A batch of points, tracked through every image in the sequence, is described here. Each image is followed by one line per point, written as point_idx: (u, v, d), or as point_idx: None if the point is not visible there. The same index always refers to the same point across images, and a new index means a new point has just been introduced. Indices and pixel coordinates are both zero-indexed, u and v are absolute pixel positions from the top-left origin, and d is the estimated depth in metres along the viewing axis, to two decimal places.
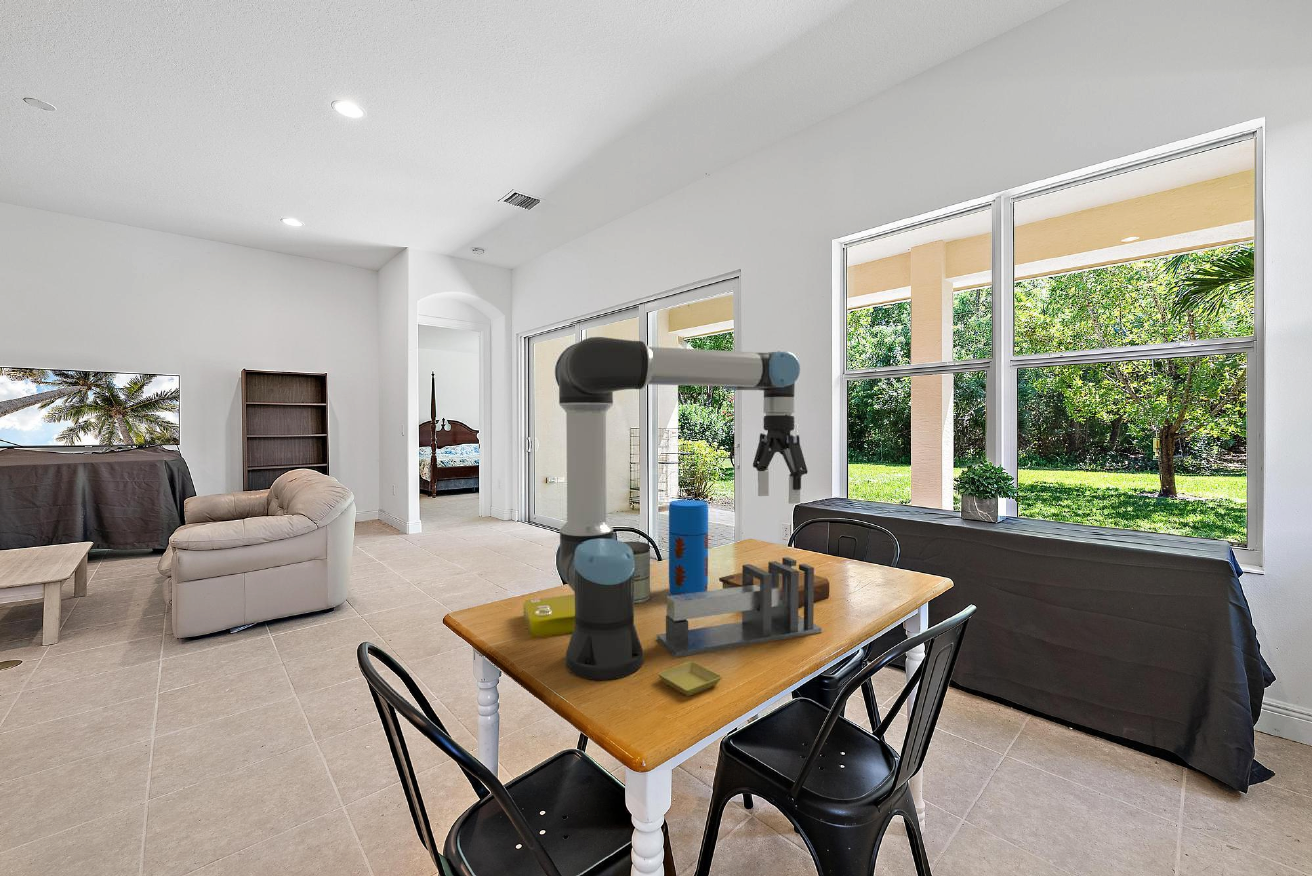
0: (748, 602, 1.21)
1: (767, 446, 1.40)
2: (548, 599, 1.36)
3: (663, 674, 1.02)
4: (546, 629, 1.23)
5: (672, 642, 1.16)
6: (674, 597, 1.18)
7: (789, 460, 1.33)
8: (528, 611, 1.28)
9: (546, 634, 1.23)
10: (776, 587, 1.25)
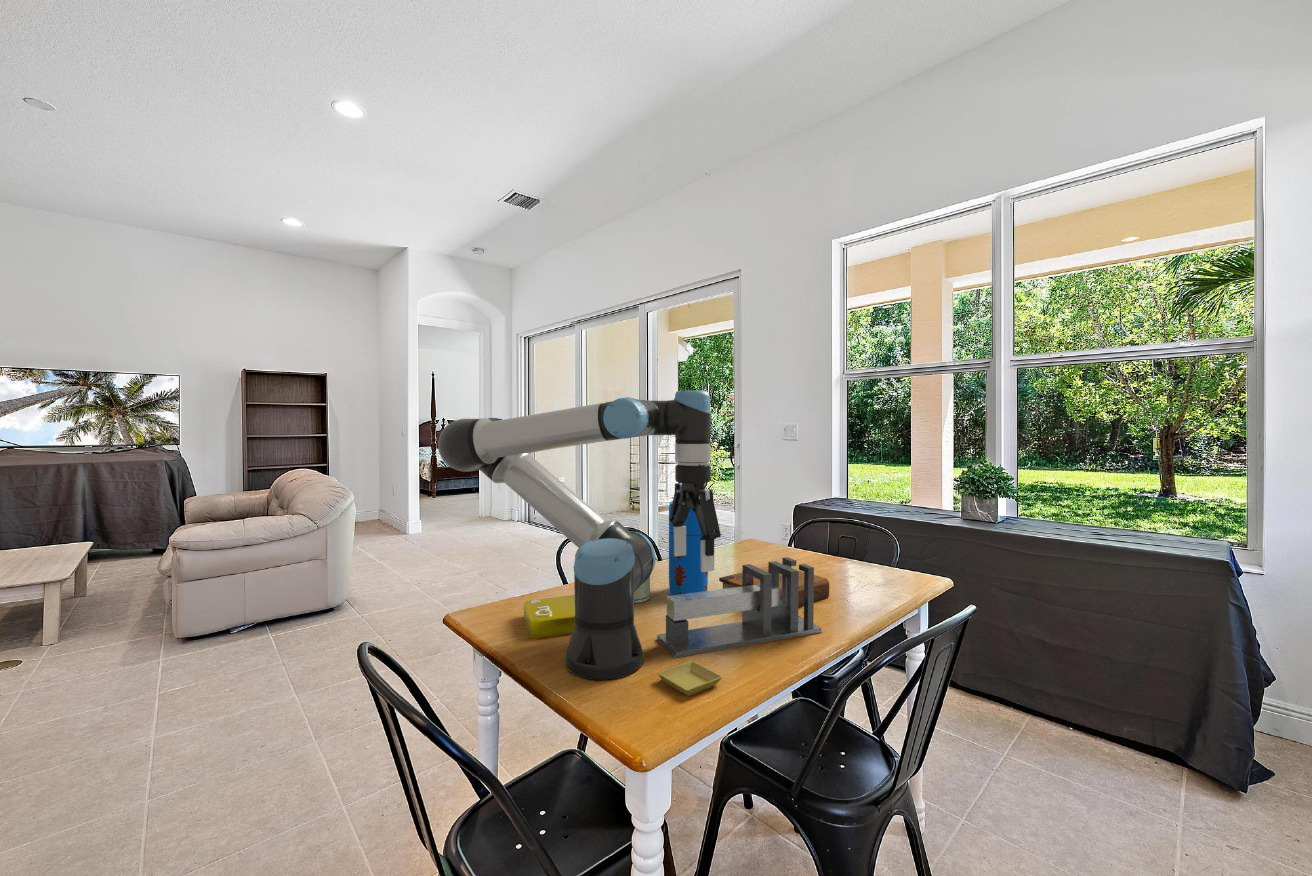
0: (748, 602, 1.21)
1: (681, 500, 1.19)
2: (548, 600, 1.35)
3: (663, 674, 1.02)
4: (546, 630, 1.22)
5: (672, 642, 1.16)
6: (674, 597, 1.18)
7: (701, 520, 1.12)
8: (528, 612, 1.27)
9: (546, 635, 1.22)
10: (776, 587, 1.25)
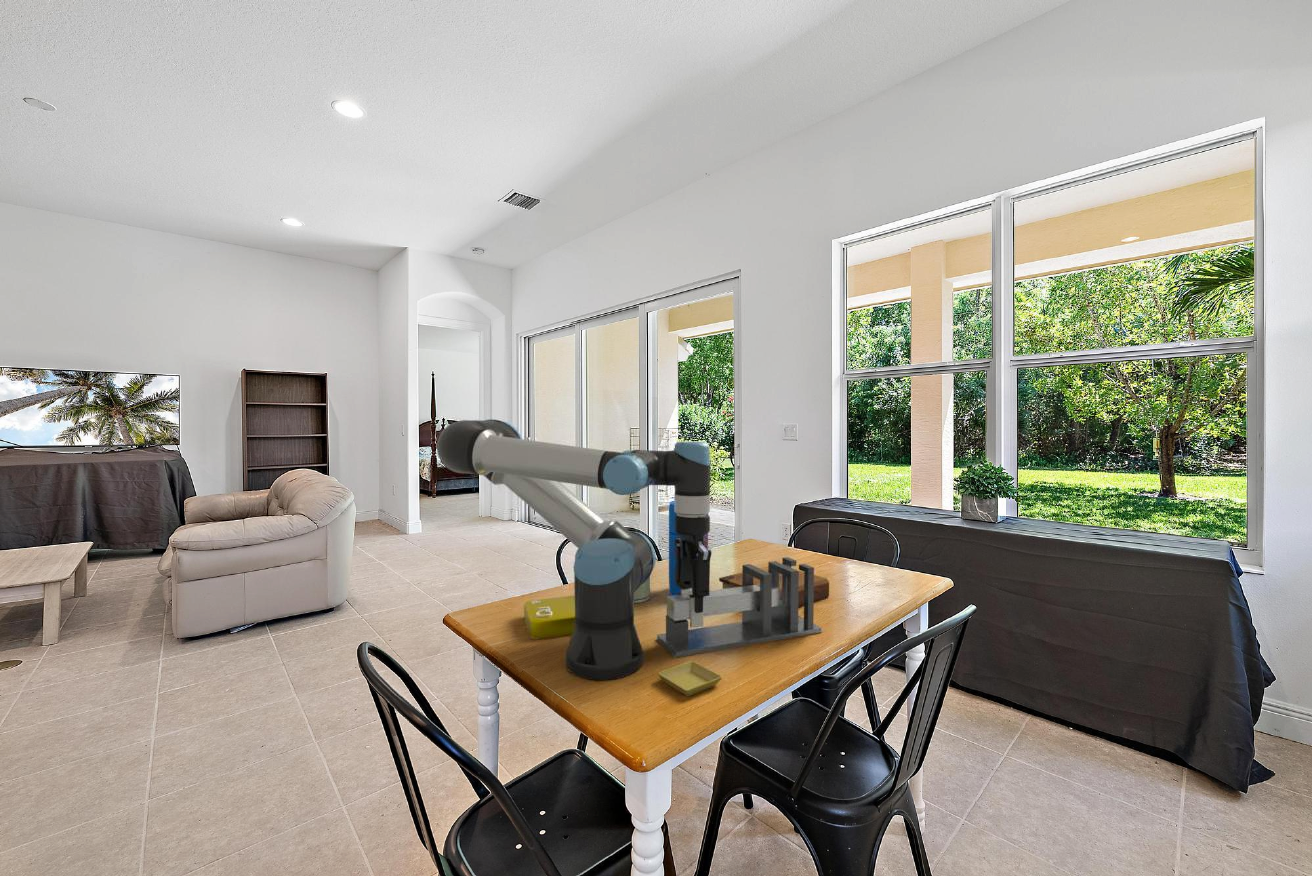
0: (748, 602, 1.21)
1: (682, 552, 1.19)
2: (549, 600, 1.35)
3: (663, 674, 1.02)
4: (547, 630, 1.22)
5: (672, 642, 1.16)
6: (674, 597, 1.18)
7: (694, 577, 1.15)
8: (529, 612, 1.27)
9: (547, 635, 1.22)
10: (776, 587, 1.25)
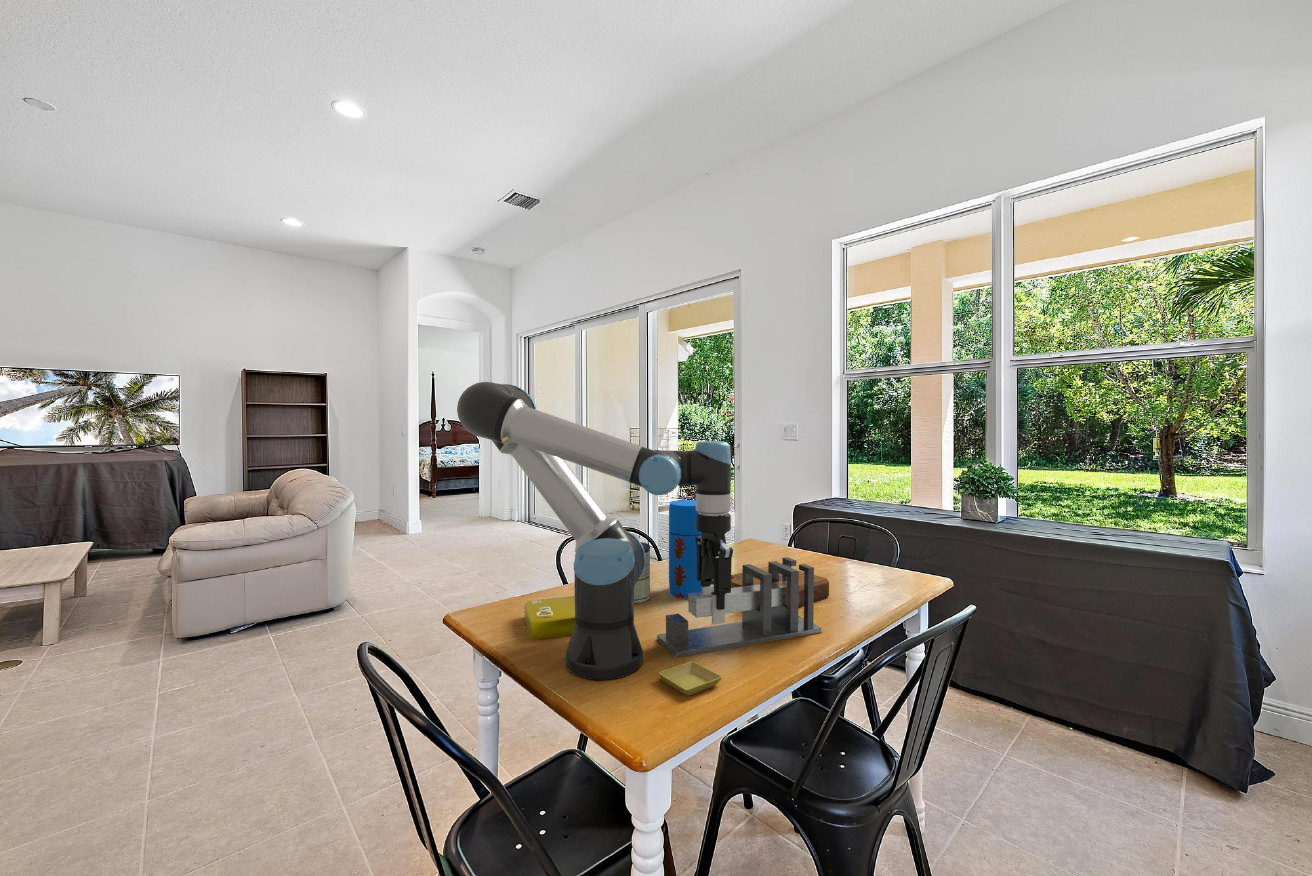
0: None
1: (703, 550, 1.21)
2: (549, 600, 1.35)
3: (663, 674, 1.02)
4: (547, 630, 1.22)
5: (672, 642, 1.16)
6: (696, 594, 1.19)
7: (716, 574, 1.17)
8: (529, 612, 1.27)
9: (547, 636, 1.22)
10: None
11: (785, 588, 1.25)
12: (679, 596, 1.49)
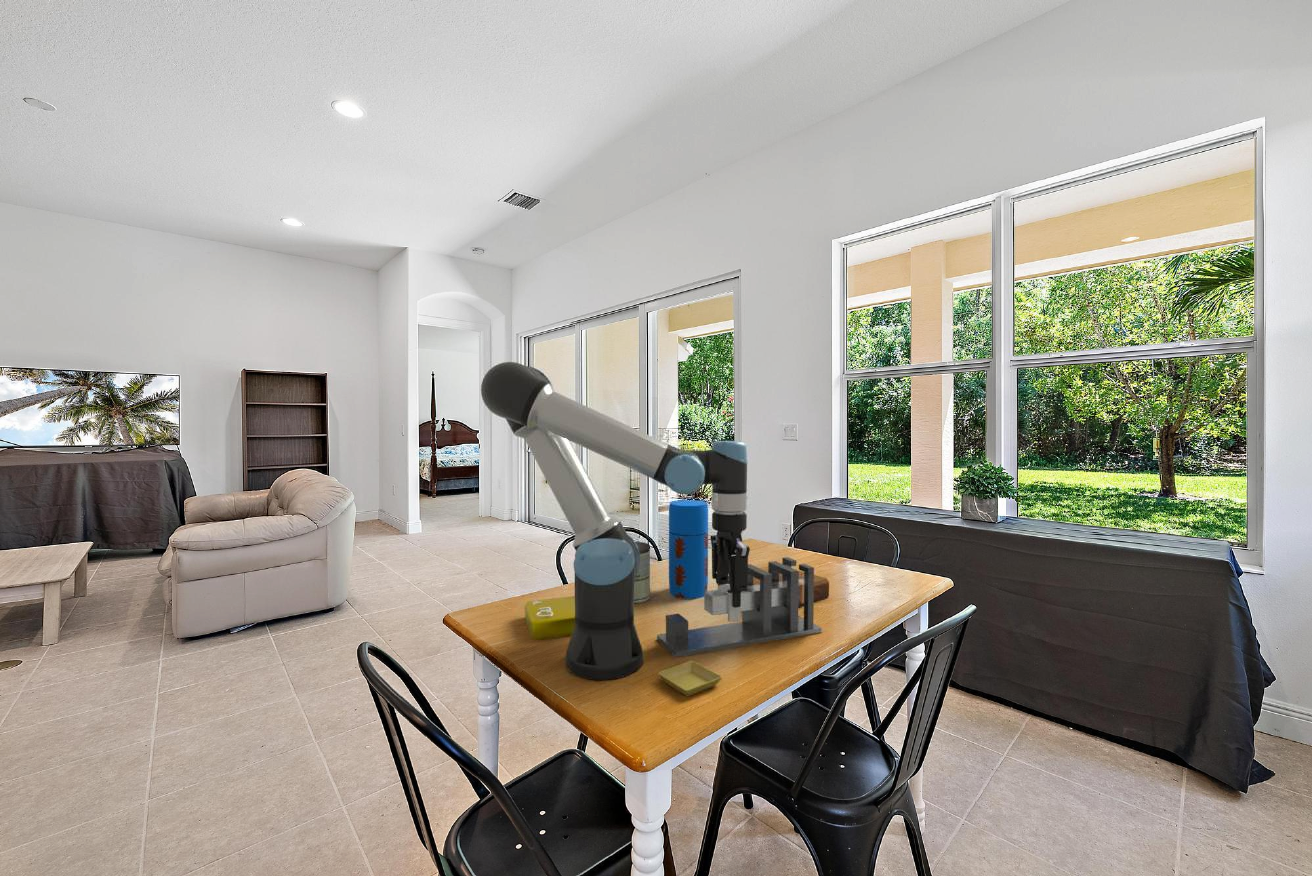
0: (782, 597, 1.25)
1: (719, 548, 1.22)
2: (550, 600, 1.35)
3: (663, 674, 1.02)
4: (547, 631, 1.22)
5: (672, 642, 1.16)
6: (712, 592, 1.21)
7: (732, 573, 1.18)
8: (529, 613, 1.27)
9: (547, 636, 1.22)
10: None
11: (799, 586, 1.26)
12: (679, 596, 1.49)
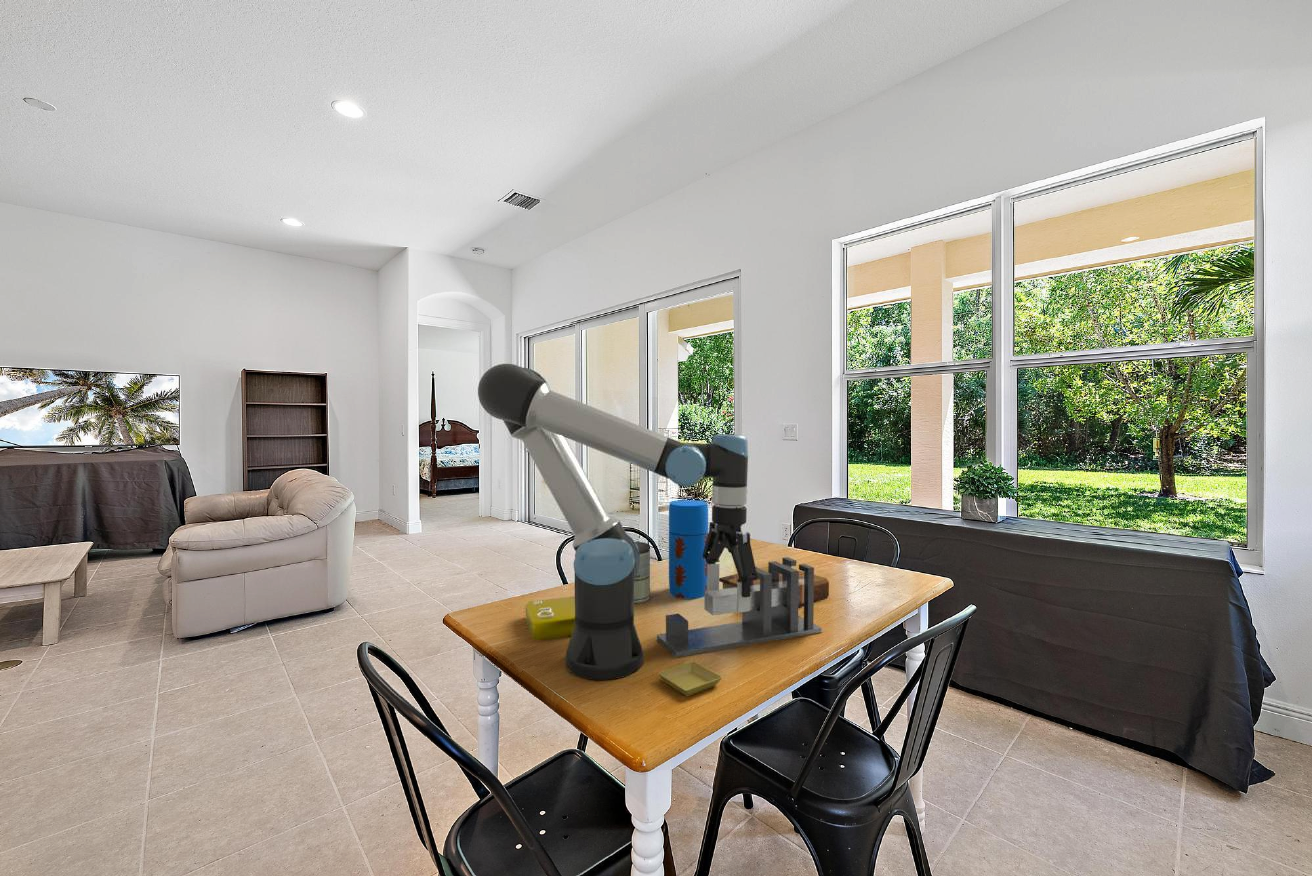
0: (783, 597, 1.25)
1: (716, 539, 1.23)
2: (550, 601, 1.35)
3: (663, 673, 1.02)
4: (548, 631, 1.21)
5: (672, 642, 1.16)
6: (712, 592, 1.21)
7: (738, 562, 1.16)
8: (530, 613, 1.26)
9: (548, 636, 1.21)
10: None
11: (799, 586, 1.26)
12: (679, 596, 1.49)
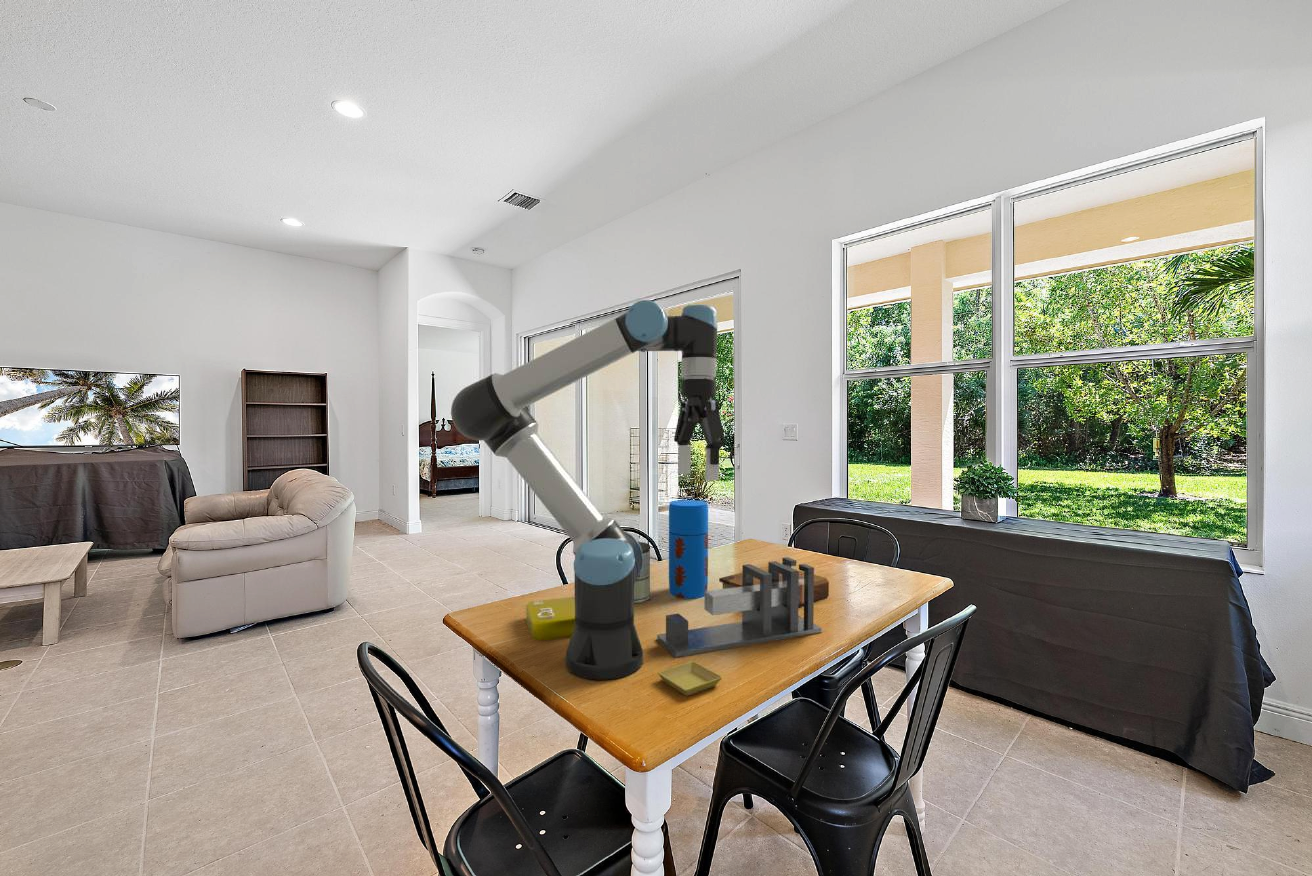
0: (783, 597, 1.25)
1: (686, 416, 1.21)
2: (551, 601, 1.34)
3: (663, 673, 1.02)
4: (548, 632, 1.21)
5: (672, 642, 1.16)
6: (712, 592, 1.21)
7: (706, 430, 1.14)
8: (530, 613, 1.26)
9: (548, 637, 1.21)
10: None
11: (799, 586, 1.26)
12: (679, 596, 1.49)
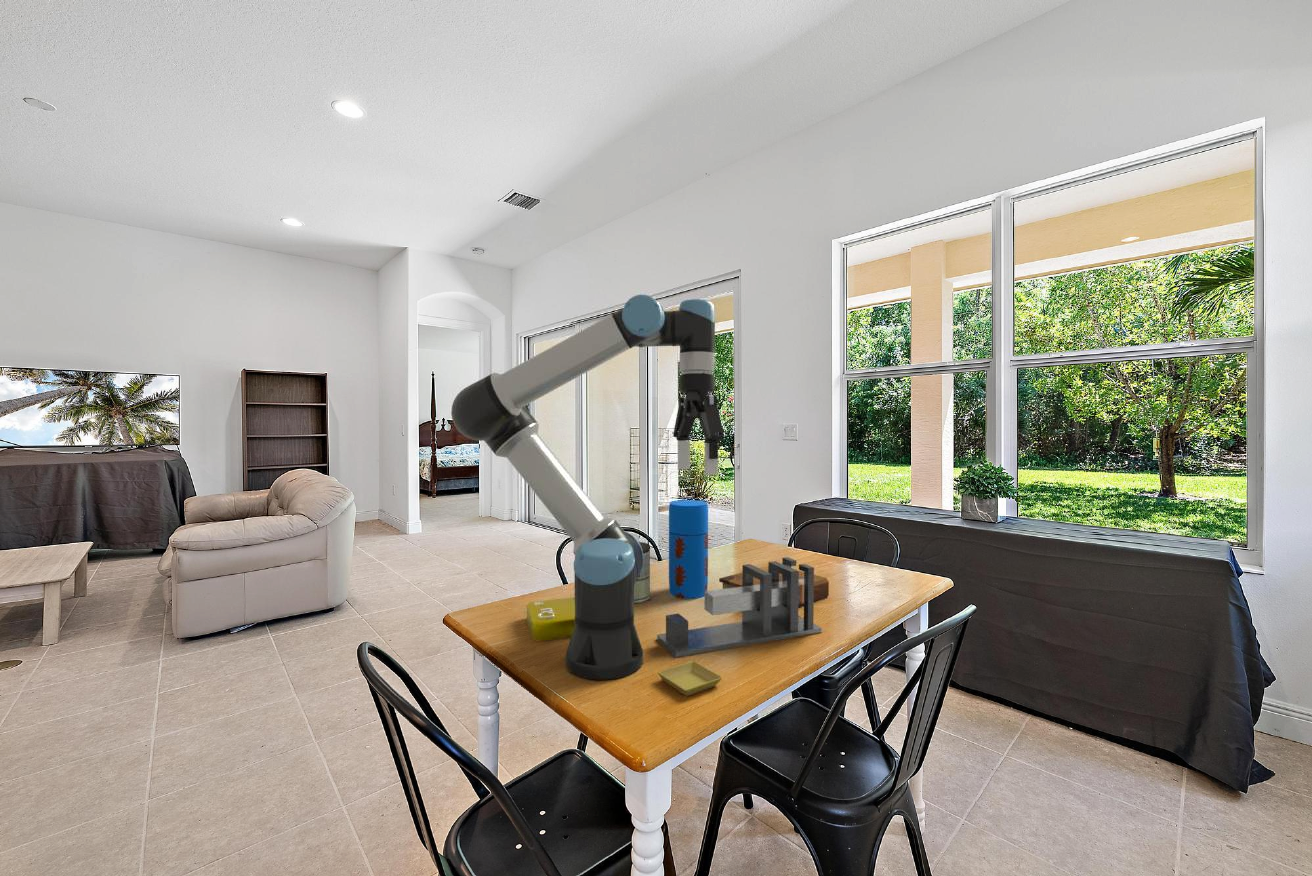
0: (783, 597, 1.25)
1: (685, 411, 1.21)
2: (551, 601, 1.34)
3: (663, 673, 1.02)
4: (549, 632, 1.21)
5: (672, 642, 1.16)
6: (712, 592, 1.21)
7: (705, 425, 1.14)
8: (531, 613, 1.26)
9: (549, 637, 1.21)
10: None
11: (799, 586, 1.26)
12: (679, 596, 1.49)
